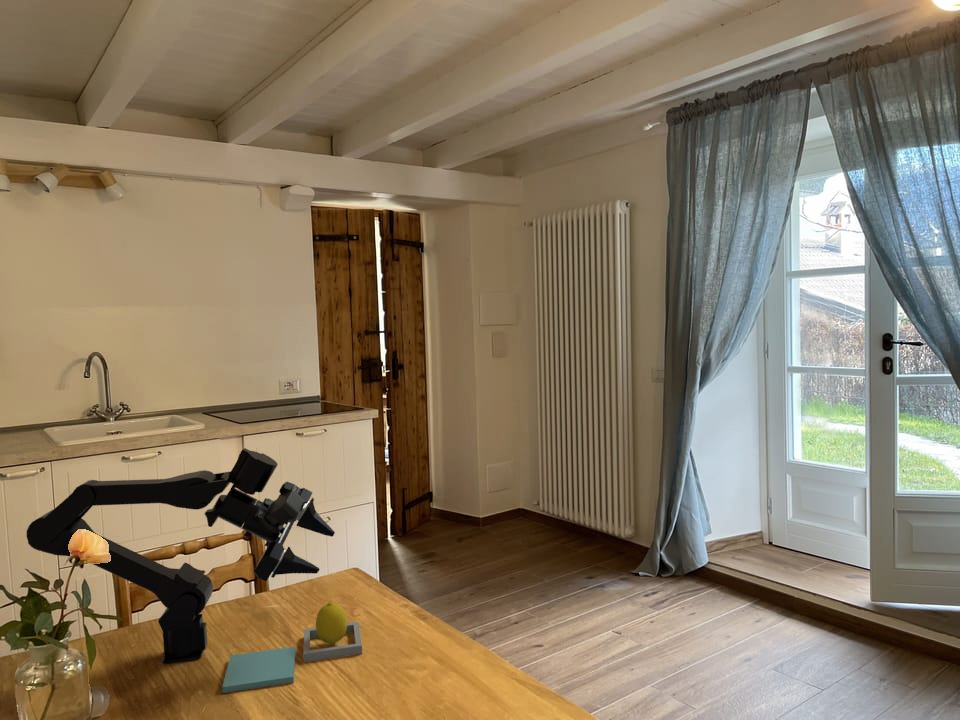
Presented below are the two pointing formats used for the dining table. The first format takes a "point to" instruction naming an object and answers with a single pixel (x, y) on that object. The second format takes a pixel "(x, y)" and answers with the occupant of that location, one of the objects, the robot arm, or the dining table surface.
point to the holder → (332, 651)
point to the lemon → (331, 623)
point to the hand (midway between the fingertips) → (326, 552)
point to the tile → (260, 669)
